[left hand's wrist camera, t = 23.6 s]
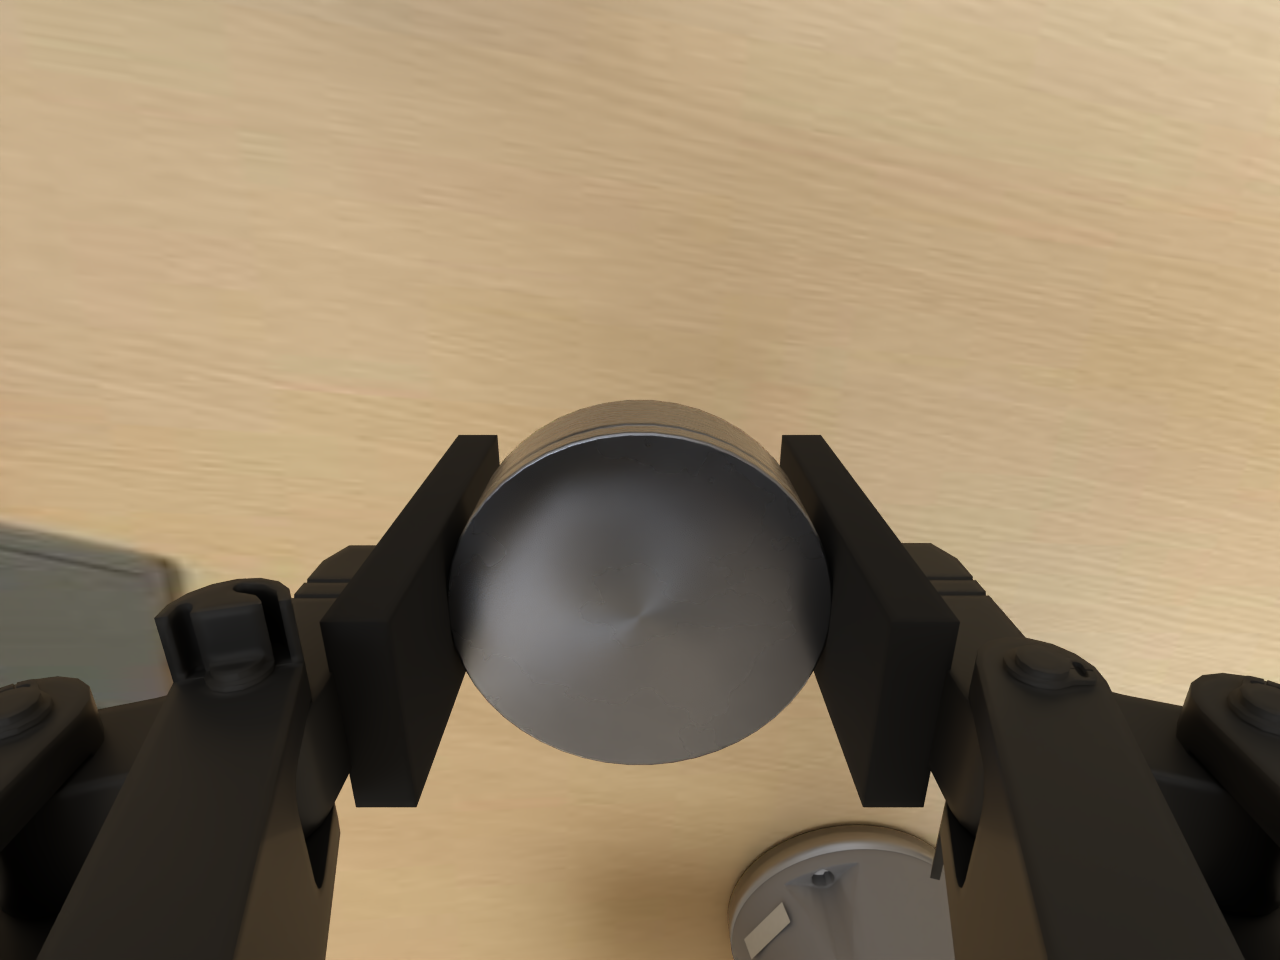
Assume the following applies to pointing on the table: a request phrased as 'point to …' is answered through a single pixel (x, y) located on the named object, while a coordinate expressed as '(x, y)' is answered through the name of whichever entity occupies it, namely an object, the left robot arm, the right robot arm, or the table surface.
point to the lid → (639, 585)
